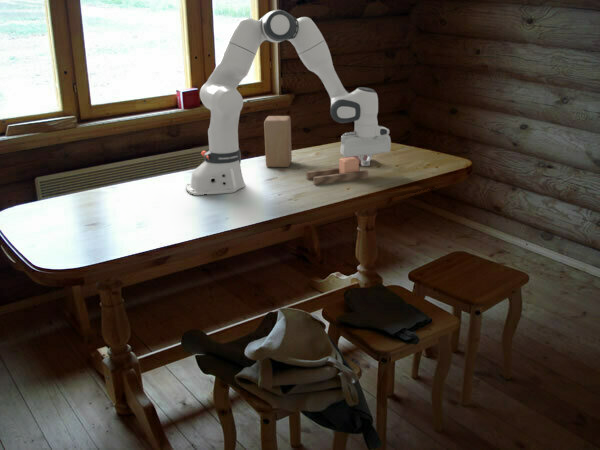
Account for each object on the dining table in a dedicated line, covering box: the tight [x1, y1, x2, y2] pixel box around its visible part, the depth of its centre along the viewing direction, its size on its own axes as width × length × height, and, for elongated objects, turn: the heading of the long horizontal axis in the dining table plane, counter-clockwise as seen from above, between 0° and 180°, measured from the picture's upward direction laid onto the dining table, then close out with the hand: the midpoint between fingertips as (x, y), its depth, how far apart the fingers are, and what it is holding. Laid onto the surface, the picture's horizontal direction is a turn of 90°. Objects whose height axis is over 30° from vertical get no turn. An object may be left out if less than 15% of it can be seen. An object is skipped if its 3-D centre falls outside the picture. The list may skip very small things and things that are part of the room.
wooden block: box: [263, 115, 293, 168], centre depth 271 cm, size 10×10×20 cm
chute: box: [305, 165, 369, 186], centre depth 250 cm, size 22×9×4 cm, turn 110°
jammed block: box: [338, 157, 360, 174], centre depth 251 cm, size 6×5×7 cm
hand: (365, 165), depth 253 cm, fingers closed
